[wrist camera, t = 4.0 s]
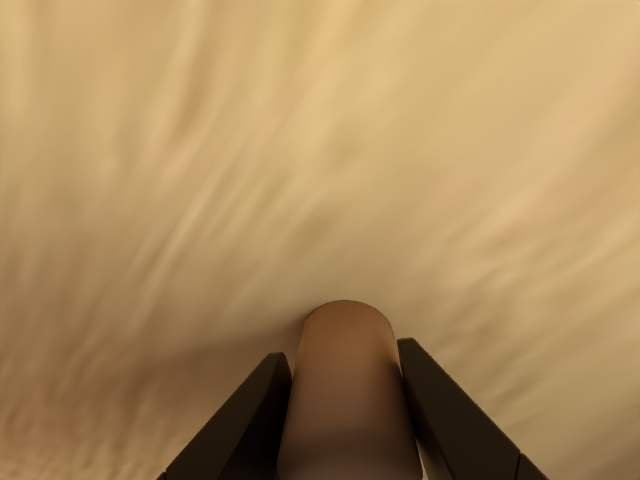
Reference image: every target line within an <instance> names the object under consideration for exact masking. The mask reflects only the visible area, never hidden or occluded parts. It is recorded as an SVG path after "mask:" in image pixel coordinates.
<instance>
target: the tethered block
mask: <svg viewBox="0 0 640 480" xmlns="http://www.w3.org/2000/svg"><path fill="white" fill-rule="evenodd" d="M277 472H278V475H279V478H280V480H422V479H423V470H422V465H421V461H420V456H419V451H418V447H417V442H416V437H415V433H414V428H413V424H412V419H411V415H410V410H409V406H408V401H407V396H406V392H405V387H404V382H403V377H402V372H401V367H400V363H399V358H398V353H397V349H396V344H395V339H394V335H393V330H392V327H391V325H390V323H389V321H388V320H387V318H386V317H385V316H384V315H383V314H382V313H381V312H380V311H378V310H377V309H375V308H373V307H372V306H370V305H367V304H364V303H361V302H356V301H336V302H332V303H328V304H326V305H323V306H321V307H320V308H318V309H316V310H315V311H314V312H313V313H312V314H311V315H310V316H309V317H308V318H307V320H306V321H305V323H304V326H303V329H302V334H301V339H300V344H299V349H298V354H297V360H296V365H295V370H294V375H293V381H292V386H291V391H290V396H289V401H288V407H287V412H286V417H285V422H284V427H283V433H282V438H281V443H280V448H279V453H278V459H277Z"/></svg>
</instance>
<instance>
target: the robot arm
mask: <svg viewBox="0 0 640 480" xmlns="http://www.w3.org/2000/svg"><path fill="white" fill-rule="evenodd" d="M397 346H398V353H399V360H400V367H401V372H402V377H403V382H404V387H405V392H406V396H407V401H408V406H409V410H410V415H411V419H412V424H413V428H414V433H415V437H416V442H417V445H418V449H419V452H420V455H421V458H422V461H423V465H424V468H425V471H426V474H427V477H428V480H549V479H548V478H547V477H546V476H545V475H544V474H543V473H542V472H541V471H540V470H539V469H538V468H537V467H536V466H535V465H534V464H533V463H532V461H531V460H530V459H529V458H528V457H527V456H526V455H525V454H523V453H522V454H521V451H520V449H519V448H518V447H517V446H516V445H515V444H514V443H513V442H512V441H511V440H510V439H509V438H508V437H507V436H506V434H505V433H504V432H503V431H502V430H501V429H500V428H499V427H498V426H497V425H496V424H495V423H494V422H493V421H492V420H491V419H490V418H489V417H488V416H487V415H486V414H485V413H484V411H483V410H482V409H481V408H480V407H479V406H478V405H477V404H476V403H475V402H474V401H473V400H472V399H471V398H470V397H469V396H468V395H467V394H466V393H465V392H464V391H463V389H462V388H461V387H460V386H459V385H458V384H457V383H456V382H455V381H454V380H453V379H452V378H451V377H450V376H449V375H448V374H447V373H446V372H445V371H444V370H443V369H442V367H441V366H440V365H439V364H438V363H437V362H436V361H435V360H434V359H433V358H432V357H431V356H430V355H429V354H428V353H427V352H426V351H425V350H424V349H423V348H422V347H421V345H420V344H419V343H418V342H417V341H416V340H415V339H414V338H402V339H398V340H397ZM291 386H292V375H291V371H290V368H289V365H288V362H287V359H286V356H285V354H284V353H283V352H276V353H270V354H268V355H267V356H266V357H265V358H264V359H263V360H262V361H261V363H260V364H259V365H258V366H257V367H256V368H255V369H254V370H253V372H252V373H251V374H250V375H249V376H248V377H247V378H246V379H245V381H244V382H243V383H242V384H241V385H240V386H239V387H238V388H237V390H236V391H235V392H234V393H233V394H232V395H231V396H230V397H229V399H228V400H227V401H226V402H225V403H224V404H223V405H222V406H221V408H220V409H219V410H218V411H217V412H216V413H215V414H214V415H213V417H212V418H211V419H210V420H209V421H208V422H207V423H206V424H205V426H204V427H203V428H202V429H201V430H200V431H199V432H198V433H197V434H196V436H195V437H194V438H193V439H192V440H191V441H190V442H189V443H188V445H187V446H186V447H185V448H184V449H183V450H182V451H181V452H180V454H179V455H178V456H177V457H176V458H175V459H174V460H173V461H172V463H171V464H170V465H169V466H168V467H167V468H166V472H163V473H162V474H161V475H160V476H159V477H158V478H157V479H156V480H280V478H279V475H278V472H277V459H278V453H279V448H280V443H281V438H282V433H283V427H284V422H285V417H286V412H287V407H288V401H289V396H290V391H291Z"/></svg>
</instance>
